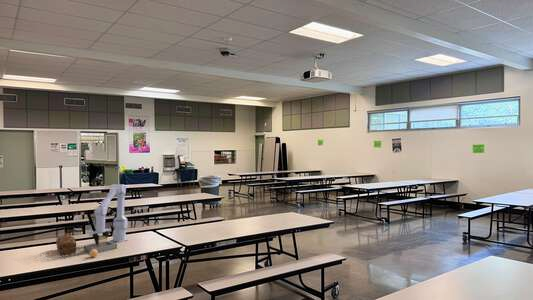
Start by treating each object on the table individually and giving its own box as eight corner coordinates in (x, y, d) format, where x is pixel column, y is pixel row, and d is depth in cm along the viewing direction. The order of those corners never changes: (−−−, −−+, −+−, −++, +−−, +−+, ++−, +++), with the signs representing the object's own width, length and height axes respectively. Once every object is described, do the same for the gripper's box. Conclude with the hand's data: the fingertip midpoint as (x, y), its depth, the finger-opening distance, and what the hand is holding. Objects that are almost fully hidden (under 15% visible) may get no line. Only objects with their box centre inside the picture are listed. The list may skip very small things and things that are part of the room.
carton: (95, 246, 243) (95, 237, 243) (102, 245, 248) (102, 235, 247) (99, 248, 240) (99, 238, 240) (106, 246, 245) (106, 236, 245)
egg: (87, 257, 226) (87, 249, 226) (95, 255, 230) (95, 247, 230) (91, 258, 223) (91, 250, 223) (99, 256, 227) (99, 249, 227)
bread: (56, 249, 245) (56, 235, 245) (73, 247, 251) (73, 233, 251) (58, 256, 230) (58, 241, 230) (77, 253, 236) (77, 238, 236)
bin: (84, 250, 242) (84, 245, 242) (106, 245, 255) (106, 240, 255) (94, 253, 233) (94, 248, 233) (116, 248, 247) (116, 243, 247)
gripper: (93, 226, 236) (93, 246, 236) (113, 223, 248) (113, 242, 248) (88, 225, 240) (88, 245, 240) (108, 221, 252) (108, 240, 252)
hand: (100, 243), depth 244 cm, fingers closed on carton, 5 cm apart
